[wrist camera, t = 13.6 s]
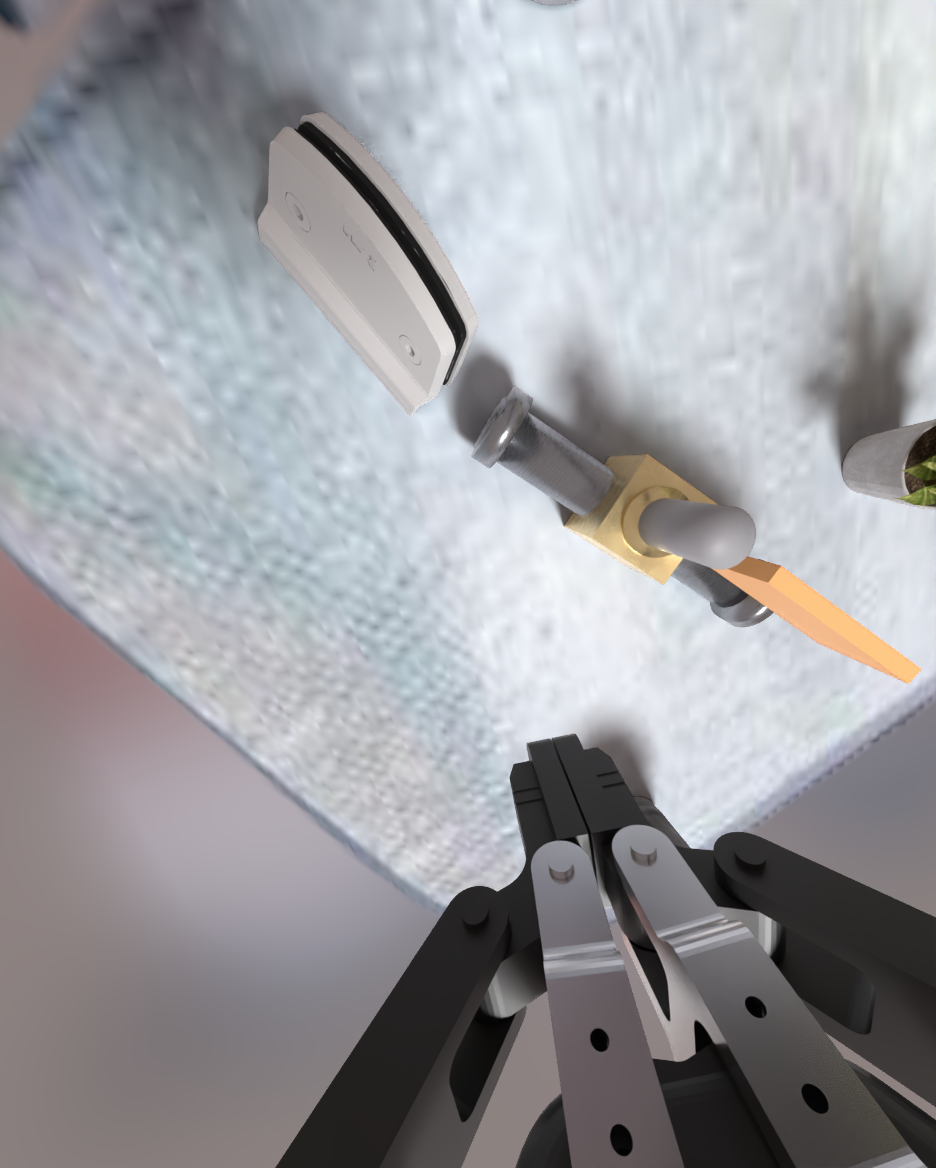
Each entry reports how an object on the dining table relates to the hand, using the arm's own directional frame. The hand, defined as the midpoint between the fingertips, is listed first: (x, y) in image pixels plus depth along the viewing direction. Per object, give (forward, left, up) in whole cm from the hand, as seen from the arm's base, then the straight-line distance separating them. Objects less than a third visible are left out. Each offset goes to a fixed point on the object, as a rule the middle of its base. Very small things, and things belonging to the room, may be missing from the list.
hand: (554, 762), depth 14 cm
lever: (-11, +16, -20) cm, 28 cm away
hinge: (-14, -17, -28) cm, 36 cm away
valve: (-11, +9, -28) cm, 31 cm away
